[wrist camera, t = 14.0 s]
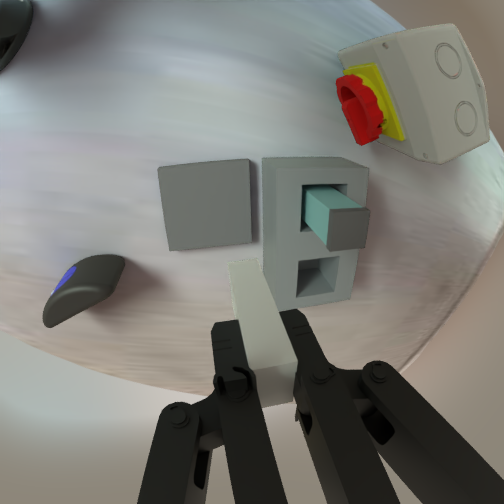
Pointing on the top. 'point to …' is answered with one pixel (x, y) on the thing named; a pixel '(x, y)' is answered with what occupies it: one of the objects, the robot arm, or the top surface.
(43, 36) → the top surface
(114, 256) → the dark grey curved block
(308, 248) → the junction block
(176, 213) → the block
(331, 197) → the plug
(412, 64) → the electrical switch box
